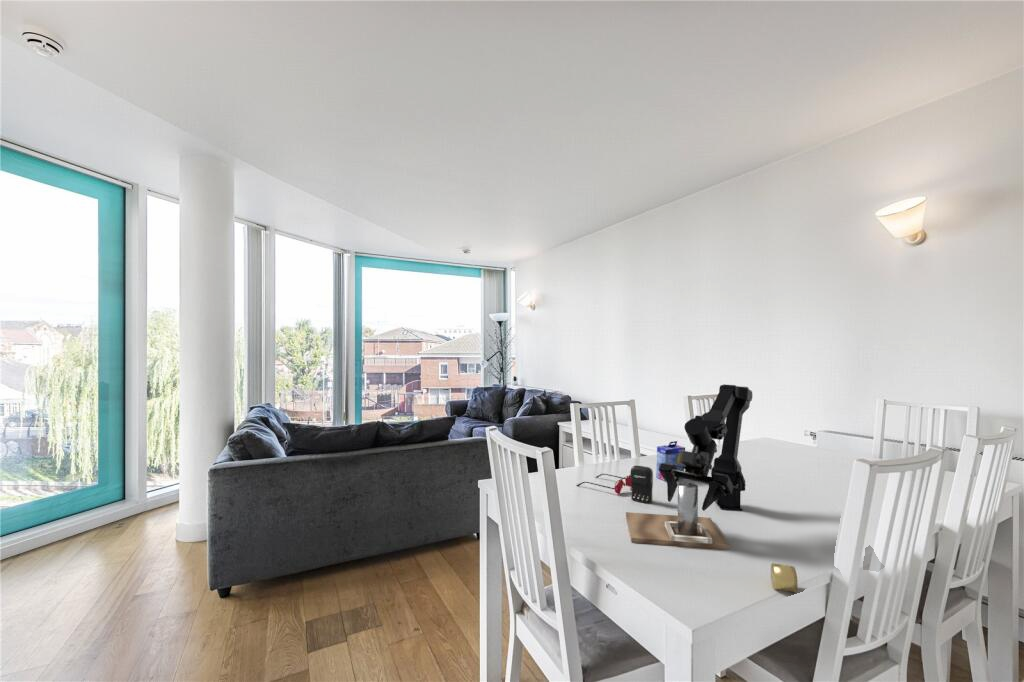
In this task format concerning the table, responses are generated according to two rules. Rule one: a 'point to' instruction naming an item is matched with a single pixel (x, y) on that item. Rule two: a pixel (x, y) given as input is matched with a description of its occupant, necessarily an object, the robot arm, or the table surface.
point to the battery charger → (641, 483)
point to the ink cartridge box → (669, 457)
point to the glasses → (618, 486)
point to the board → (673, 531)
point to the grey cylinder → (687, 509)
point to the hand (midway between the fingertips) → (685, 505)
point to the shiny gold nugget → (784, 577)
